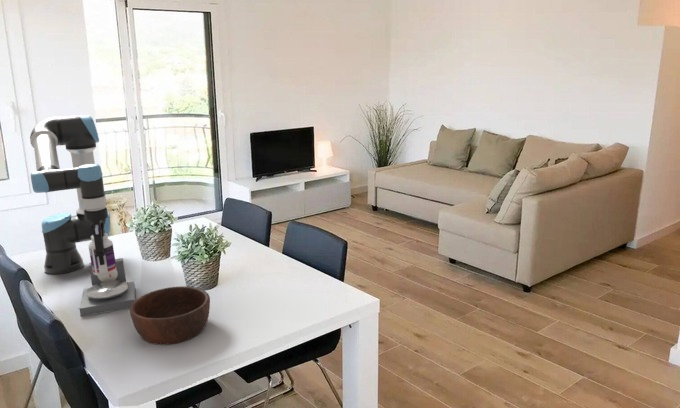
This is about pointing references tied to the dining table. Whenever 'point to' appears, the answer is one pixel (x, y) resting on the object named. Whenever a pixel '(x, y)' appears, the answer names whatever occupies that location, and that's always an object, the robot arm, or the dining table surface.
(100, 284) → the scale pan
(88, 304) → the dial scale
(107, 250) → the pill bottle
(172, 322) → the wooden bowl
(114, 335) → the dining table surface
